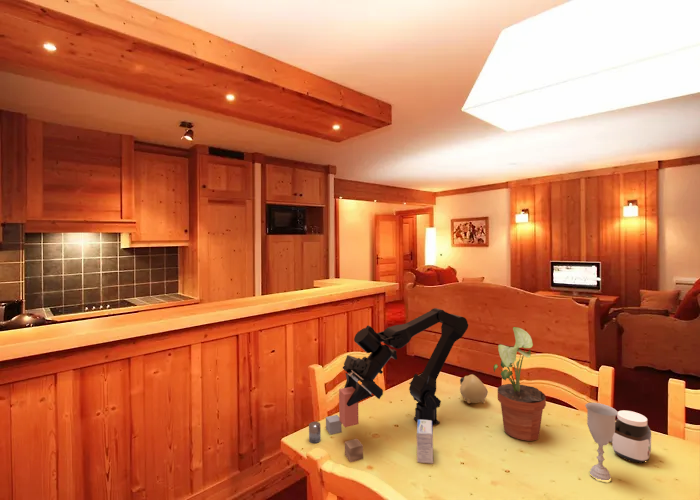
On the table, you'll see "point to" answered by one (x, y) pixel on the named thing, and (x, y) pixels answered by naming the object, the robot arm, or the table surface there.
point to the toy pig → (473, 389)
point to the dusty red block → (347, 408)
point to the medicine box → (424, 441)
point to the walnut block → (353, 450)
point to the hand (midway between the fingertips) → (344, 402)
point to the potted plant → (519, 393)
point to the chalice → (601, 433)
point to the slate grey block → (333, 424)
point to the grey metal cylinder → (314, 432)
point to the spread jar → (632, 436)
